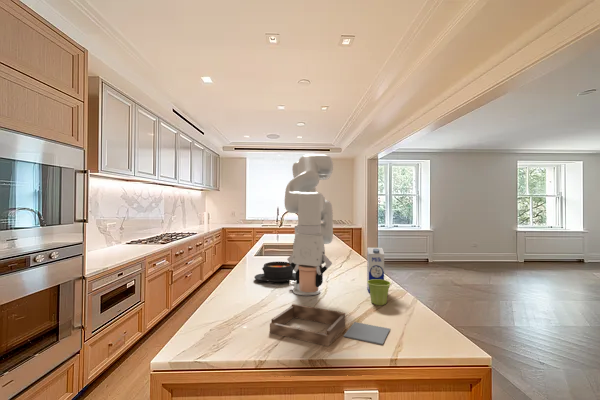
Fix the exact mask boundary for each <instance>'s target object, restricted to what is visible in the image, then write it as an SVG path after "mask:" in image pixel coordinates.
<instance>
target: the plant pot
mask: <svg viewBox="0 0 600 400" xmlns="http://www.w3.org/2000/svg"><path fill="white" fill-rule="evenodd" d="M366 282H367V283H368V285H369V289H370V293H369V295H370V302H371V304H374V305H376V306H384V305H386V304H387V303H388V302H387V301H388V295H389V289H390V287H391V284H392V283H391V281H388V280H386V279H384V280H380V279H372V280H368V281H367V280H366ZM367 283H366V284H367Z"/></svg>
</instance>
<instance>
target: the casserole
mask: <svg viewBox="0 0 600 400" xmlns="http://www.w3.org/2000/svg"><path fill="white" fill-rule="evenodd" d="M261 270H262V271H263V273H259V274H256V275H254V279H255V280H257V281H262V282H266V281H267V282H270V283H275V284H277V283H280V284H281V283H286V282H289V281H290V280H292V281H295V280H296V272H294V268H293V267H292V266H291V264H290V263H289V261H270V262H267V263H264V265H263V267H262V268H261Z"/></svg>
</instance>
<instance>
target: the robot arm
mask: <svg viewBox="0 0 600 400" xmlns="http://www.w3.org/2000/svg"><path fill="white" fill-rule="evenodd" d="M333 170H334V163H333V159H332V157H331V156H330V155H328V154H304V155H302V156H301V157H300V158H299V159H298V161H296V162H294V163H293V164H292V176H293V178H292V179H291V180H290V181H289V182H288V183H287V185H286V188H285V192H284V193H285V194H284V207H285V208H284V209H285V210H286V211H287V212H288V213H289V214H290V213H291V214H297V225H294V227H293V228H294V240H293V245H292V246H293V247H292V254H290V256H288V257H287V262H288V263H290V264H291V266H292V267H293V268H294V270H293V272H294V273H296V279H295V280H289V281H288V283H289V284H288V285H289V286H290V287H292V286H293V288H292V292H293V294H295V295H298V296H303V297H304V296H306V297H308V296H316V295H319V294H320V293H321V288H319V289H318V291H316V292H303V291H300V290H299V269H298V265H299V266H300V265H304V266H312V267H315V268H316V271H317V275H316V287H321V286H322V284H323V283H324V282H323V279H324V278H323V276H324V275H323V274H324V273H325V272H326V271H327V270H328V269H329V268H330V267H331V266H332V265H333V263H332V261H331V260H330V259H329V257H327V256H326V251H325V250H326V247H325V245H329V244H331V243H332V242H333V238H334V237H333V236H334V226H333V225H334V219H333V217H334V215H333V214H334V213H333V205H332V202H331V201H330V200H327V199H326V198H325V197H326V196H324V194H323V193H321V192H318V191H317V188H316V187H317V186H318V185H319V183H320V180H322V181H324V180H329V178H330V177H331V175H332V173H333ZM323 264H324V266H323ZM319 266H320V267H319Z"/></svg>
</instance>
